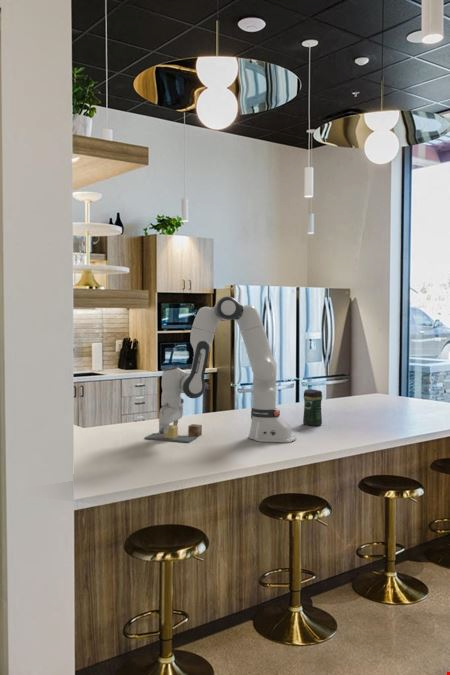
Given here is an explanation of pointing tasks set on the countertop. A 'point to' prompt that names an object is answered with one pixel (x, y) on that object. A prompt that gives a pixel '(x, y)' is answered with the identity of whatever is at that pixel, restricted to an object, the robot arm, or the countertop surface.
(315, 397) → the coffee jar
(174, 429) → the mustard block
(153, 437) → the rubber mat
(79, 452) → the countertop surface
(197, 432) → the walnut block
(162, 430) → the metal canister
